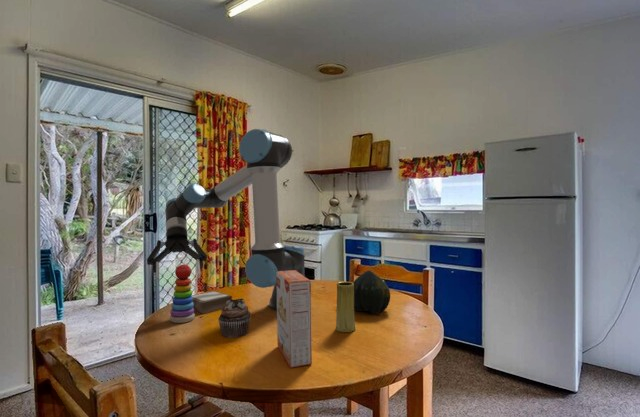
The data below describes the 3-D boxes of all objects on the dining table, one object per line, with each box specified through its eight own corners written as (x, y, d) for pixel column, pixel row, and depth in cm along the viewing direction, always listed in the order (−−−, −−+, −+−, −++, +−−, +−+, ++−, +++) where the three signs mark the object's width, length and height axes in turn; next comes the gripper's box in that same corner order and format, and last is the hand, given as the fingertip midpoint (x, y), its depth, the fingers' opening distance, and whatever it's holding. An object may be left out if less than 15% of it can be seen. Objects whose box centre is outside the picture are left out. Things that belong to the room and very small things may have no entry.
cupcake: (216, 330, 111) (216, 298, 111) (247, 325, 115) (247, 294, 115) (220, 341, 102) (220, 306, 102) (254, 335, 106) (253, 302, 106)
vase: (357, 327, 113) (357, 282, 113) (352, 333, 107) (352, 286, 107) (338, 325, 115) (338, 280, 115) (333, 331, 109) (333, 285, 109)
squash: (366, 305, 118) (384, 267, 125) (335, 298, 129) (353, 263, 136) (387, 326, 125) (403, 289, 132) (356, 318, 136) (372, 284, 143)
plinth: (231, 306, 136) (231, 295, 136) (203, 313, 127) (203, 302, 127) (214, 300, 144) (214, 290, 144) (186, 307, 135) (186, 296, 135)
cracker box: (275, 346, 98) (275, 270, 97) (297, 343, 100) (296, 269, 99) (288, 369, 85) (287, 281, 84) (312, 365, 86) (312, 279, 86)
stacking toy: (186, 324, 116) (185, 267, 116) (164, 323, 118) (163, 266, 117) (199, 317, 124) (198, 263, 123) (178, 315, 125) (178, 262, 125)
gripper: (209, 236, 146) (214, 280, 132) (141, 239, 136) (139, 287, 122) (210, 224, 141) (216, 268, 127) (140, 226, 131) (138, 274, 117)
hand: (178, 277), depth 125 cm, fingers open, 13 cm apart
